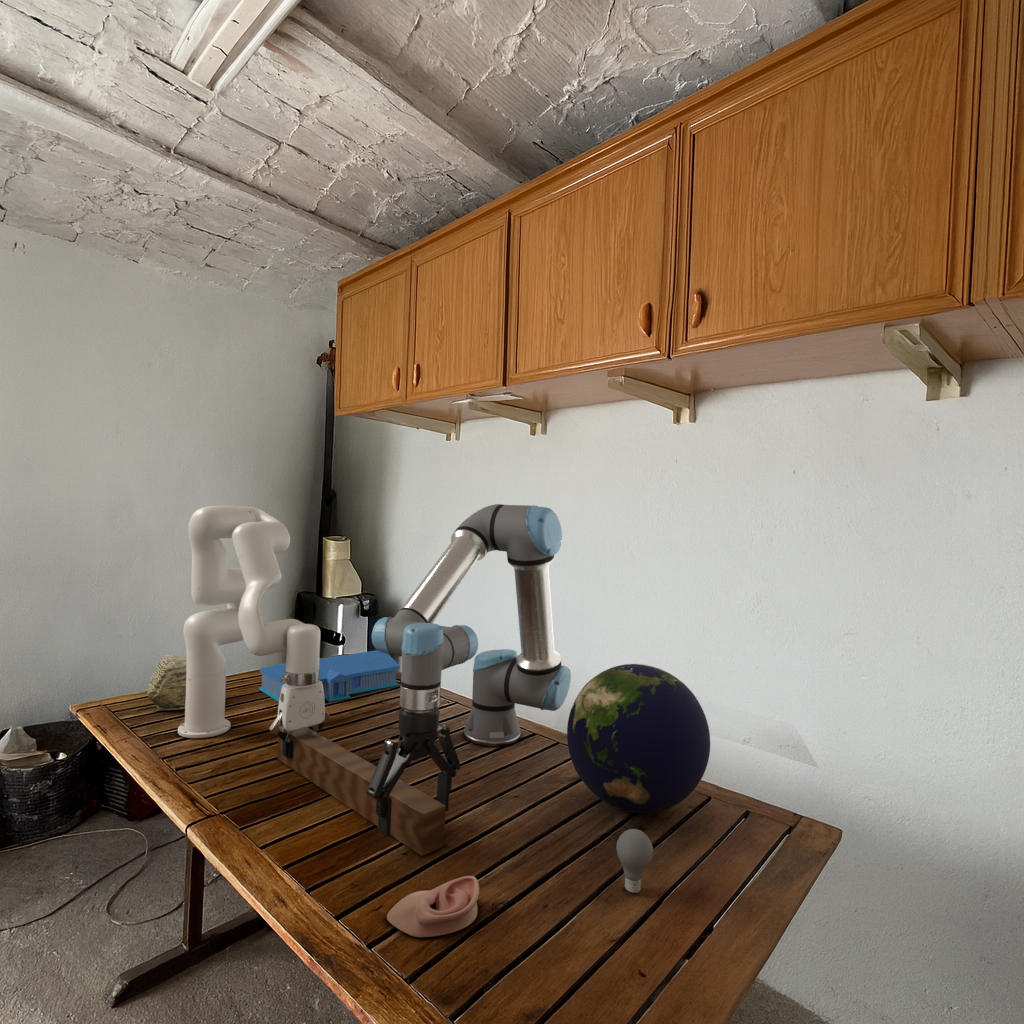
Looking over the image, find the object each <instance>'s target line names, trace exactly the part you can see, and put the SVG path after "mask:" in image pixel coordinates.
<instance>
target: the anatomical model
mask: <svg viewBox="0 0 1024 1024" xmlns="http://www.w3.org/2000/svg"><path fill="white" fill-rule="evenodd" d="M479 896H480V884H479V881H478V879H477V878H476V877H475V876H474V875H463V876H461V877H457V878H454V879H451V880H449V881H447V882H445V883H443V884H440V885H438V886H436V887H435V888H433V889H430V890H417V891H415V892H412V893H409V894H408V895H406V896H404V897H402V898H401V899H400V900H399V901H398V902H397V903H395V904H394V905H393V907H391V908H390V910H389V911H388V913H387V914H386V920H387V922H388V923H390V925H392V926H393V927H394V928H396V929H398V930H399V931H401V932H402V933H405V934H406V935H408V936H411V937H415V938H431V937H438V936H443V935H448V934H452V933H456V932H458V931H462V930H463V929H464V928H467V927H468V926H470V925H471V924H472V923H473V922H474V921H475V920H476V918H477V916H478V899H479V898H480V897H479Z"/></svg>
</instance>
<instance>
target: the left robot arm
mask: <svg viewBox="0 0 1024 1024" xmlns="http://www.w3.org/2000/svg"><path fill="white" fill-rule="evenodd" d="M187 530H188V531H187V532H188V539H189V545H190V548H191V549H190V550H191V576H190V577H191V578H190V579H191V580H190V587H191V588H190V592H191V594H190V595H191V599H192V601H193V602H194V604H196V605H197V606H201V607H211V606H212V607H213V606H219V605H220V606H221V605H226V608H225V607H224V608H217V609H210V610H203V611H199V612H196V613H193V614H191V615H190V616H188V618H187V619H186V620H185V621H184V624H183V627H182V628H183V630H182V631H183V632H182V633H183V639H184V644H185V645H184V646H185V653H186V654H185V657H187V667H186V701H185V709H184V722H182V724H180V725H179V726H178V727H177V734H178V735H179V736H180V737H182V738H188V739H207V738H212V737H216V736H220V735H222V734H224V733H227V732H228V731H230V729H231V727H232V725H231V723H232V722H231V721H230V720H228V719H226V718H225V715H226V692H227V691H226V689H227V661H226V658H225V655H224V654H223V653H222V651H221V649H220V646H224V645H228V644H229V645H230V644H233V643H237V642H238V643H239V642H241V641H244V644H245V646H246V648H247V650H248V651H249V652H250V654H252V655H254V656H257V657H263V656H264V657H265V656H269V655H273V654H278V653H283V652H286V653H285V654H286V655H285V663H286V672H285V675H284V676H281V677H280V681H281V682H285V684H283V686H282V689H281V694H280V699H279V702H278V706H277V717H275V719H274V721H273V723H271V725H270V727H269V728H268V730H269V732H271V733H272V734H274V735H276V736H277V738H278V737H279V738H281V739H282V754H283V756H285V757H286V758H288V759H291V758H292V749H293V742H291V737H292V734H293V731H294V730H298V729H302V728H306V727H307V728H309V729H311V730H313V731H314V732H316V733H318V734H320V731H321V730H322V729H323V727H324V725H325V724H326V723H327V722H328V721H329V719H330V718H331V715H330V713H328V712H327V711H326V703H325V701H326V700H325V699H324V691H323V685H322V681H319V659H320V658H321V657H320V655H321V629H320V627H319V626H318V625H315V624H312V623H305V622H302V621H300V620H299V619H296V618H285V619H279V620H278V619H277V620H273V621H267V622H264V621H263V618H262V615H261V611H260V603H261V599H262V597H263V594H264V593H265V592H266V591H268V590H269V589H271V588H273V587H274V586H277V585H278V584H279V583H280V582H281V580H282V578H283V577H282V572H281V568H280V565H279V563H278V559H277V557H276V555H277V554H283V553H285V552H286V551H287V550H288V549H289V547H290V544H291V536H290V535H291V534H290V532H289V529H288V528H287V527H286V525H285V524H284V523H283V522H281V521H280V520H279V519H277V518H275V517H274V516H272V515H270V514H269V513H268V512H265V511H264V510H262V509H260V508H258V507H256V506H249V505H247V506H246V505H244V506H243V505H209V506H203V507H201V508H198V509H197V510H196V511H194V512H193V513H192V515H191V517H190V518H189V521H188V529H187ZM221 539H231V541H232V544H233V548H234V551H235V554H236V557H237V561H238V564H239V567H228V558H229V555H228V551H227V549H226V546H225V544H224V543H223V542H222V541H221ZM281 726H283V730H282V731H280V730H279V727H281Z"/></svg>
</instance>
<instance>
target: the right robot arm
mask: <svg viewBox="0 0 1024 1024" xmlns="http://www.w3.org/2000/svg"><path fill="white" fill-rule="evenodd" d="M560 521H561V520H560V519H559V517H558V515H557V513H556V512H555V511H554V510H553V509H551V508H550V507H547V506H539V505H535V504H534V505H523V504H522V505H521V504H519V505H518V504H504V503H503V504H502V503H497V504H490V505H488V506H485V507H482V508H480V509H478V510H477V511H475V512H474V513H472V514H471V515H469V516H468V517H467V518H466V519H464V520H463V521H461V523H460V524H459V525H458V527H456V529H455V530H454V531H453V533H452V534H451V536H450V544H449V545H448V546H447V548H446V549H445V550H444V551H443V553H442V554H441V555H440V556H439V558H438V559H437V561H436V562H435V563H434V565H433V566H432V567H431V568H430V569H429V571H428V573H427V574H426V575H425V576H424V578H423V579H422V580H421V581H420V583H419V584H418V586H416V588H415V589H414V591H413V592H412V593H411V594H410V596H409V597H408V599H407V600H406V601H405V603H404V604H403V605H402V606H401V608H400V610H399V611H398V612H397V613H396V615H394V617H392V616H388V617H387V616H385V617H381V618H380V619H378V620H377V621H376V622H375V624H374V626H373V627H372V631H371V643H372V645H373V647H374V649H375V650H378V651H380V652H383V653H386V654H389V655H390V656H392V657H393V656H394V657H395V656H397V657H401V677H400V678H401V679H400V687H399V702H398V703H399V706H400V708H399V710H398V729H399V736H398V738H397V739H393V740H392V739H390V738H386V739H385V740H384V742H383V749H382V753H381V755H380V758H379V760H378V763H377V764H376V766H377V767H376V770H375V772H374V775H373V777H372V779H371V782H370V784H369V787H368V789H367V794H368V795H369V796H371V797H373V798H374V799H376V814H377V815H378V816H379V818H378V826H377V830H378V832H380V833H382V834H383V835H384V836H391V835H390V827H391V806H392V798H391V797H389V795H390V793H391V791H392V790H393V788H394V786H395V785H396V783H397V781H398V780H399V779H400V778H401V776H402V774H403V773H404V771H405V770H406V768H407V766H410V765H411V764H412V762H413V761H416V760H419V759H421V758H426V757H428V756H429V758H430V759H431V760H432V761H433V763H434V764H435V765H436V767H438V769H439V770H440V772H439V773H437V783H436V785H437V786H436V800H437V801H439V802H441V803H442V804H444V805H446V806H445V813H446V812H448V811H449V805H450V804H449V801H450V792H451V790H452V786H453V785H452V783H453V778H456V776H457V771H459V770H461V767H462V765H461V762H460V760H459V757H458V753H457V751H456V749H455V746H454V743H453V741H452V738H451V728H450V727H449V726H447V725H445V724H442V723H440V708H439V707H440V705H441V691H442V690H441V688H442V687H441V685H442V671H443V670H446V669H449V668H452V667H454V666H458V665H461V664H462V665H463V664H465V663H466V662H467V661H469V660H471V659H473V658H474V661H473V669H472V698H471V699H472V701H471V708H470V712H469V715H468V717H467V719H466V722H465V726H464V729H463V730H464V731H463V736H464V738H465V740H466V741H468V742H470V743H472V744H474V745H479V746H484V747H505V746H506V747H507V746H510V745H513V744H515V743H517V742H518V741H519V740H520V739H521V727H520V723H519V720H518V715H517V713H516V704H517V705H521V706H526V707H530V708H536V709H540V710H541V711H544V710H545V711H551V712H555V711H558V710H559V709H560V708H561V707H562V706H563V704H565V701H566V699H567V696H568V693H569V691H570V687H571V682H572V681H571V680H572V679H571V678H572V673H571V669H570V668H569V667H568V666H566V665H562V656H561V654H560V653H559V652H558V651H557V650H555V638H554V623H553V621H554V620H553V609H552V607H553V606H552V593H551V579H550V564H551V563H552V562H553V561H554V560H555V556H556V555H557V554H558V553H559V552H560V550H561V548H562V547H561V546H562V540H563V532H562V531H563V530H562V526H561V522H560ZM494 551H498V552H504V553H505V552H506V559H507V563H508V564H509V565H510V566H511V567H513V569H514V580H515V581H514V582H515V593H516V594H515V595H516V604H517V617H518V626H519V627H518V628H519V629H518V630H519V642H520V653H519V655H518V652H517V651H516V650H514V649H509V648H508V649H507V648H506V649H503V648H501V649H500V648H499V649H491V650H485V651H481V652H480V653H477V652H478V650H479V639H478V636H477V634H476V632H475V631H474V629H473V628H471V627H470V626H468V625H466V624H454V625H452V626H445V625H440V624H438V623H434V622H435V621H436V619H437V617H438V616H439V615H440V613H441V612H442V611H443V609H444V608H445V606H446V605H447V603H448V602H449V601H450V600H451V598H452V597H453V595H454V594H455V592H456V591H457V589H458V588H459V586H460V585H461V583H463V581H464V580H465V578H466V576H468V574H469V572H470V571H471V569H472V568H473V566H474V565H475V563H476V562H477V561H481V560H482V559H484V558H485V557H486V555H487V554H488V553H489V552H494ZM475 655H476V656H475ZM474 656H475V657H474ZM437 739H438V741H439V744H440V746H441V750H442V752H443V755H444V756H443V755H442V753H441V752H440V749H439V748H438V747H437V745H436V744H435V743H436V741H437ZM404 756H405V757H404ZM383 790H384V791H383Z"/></svg>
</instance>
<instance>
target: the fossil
mask: <svg viewBox="0 0 1024 1024" xmlns="http://www.w3.org/2000/svg"><path fill="white" fill-rule="evenodd" d="M186 667H187V656H183V657H182V656H178V655H175V654H174V655H173V654H165V655H164V656H163V657H162V658H161V659H160V660H159V662H158V663H157V666H156V667H155V669H154V670H153V672H152V675H151V677H150V680H149V684H148V688H147V697H148V699H149V700H150V701H152V703H153V704H154V706H155V711H158V712H159V711H162V712H163V711H177V710H185V701H186Z"/></svg>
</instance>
